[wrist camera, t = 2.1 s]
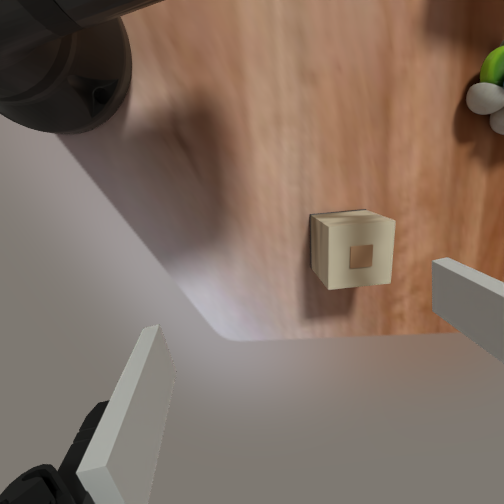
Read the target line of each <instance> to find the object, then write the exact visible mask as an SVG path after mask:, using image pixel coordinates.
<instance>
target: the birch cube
mask: <svg viewBox="0 0 504 504" xmlns="http://www.w3.org/2000/svg"><path fill="white" fill-rule="evenodd" d="M394 234H395V220H392V219H390V218H387V217H384V216H382V215H379V214H376V213H374V212H371V211H368V210H366V209H363V210H352V211H341V212H330V213H319V214H310V263H311V269H312V270H313V271H314V272H315V274H316V275H317V276H318V277H319V279H320V280H321V281H322V283H323V284H324V285H325V286H326V288H327V289H328V290H333V289H342V288H351V287H360V286H370V285H379V284H388V283H391V272H392V259H393V247H394Z"/></svg>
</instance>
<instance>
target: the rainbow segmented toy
mask: <svg viewBox="0 0 504 504" xmlns="http://www.w3.org/2000/svg"><path fill="white" fill-rule="evenodd" d="M480 82H481V83H477V84H475V85H473V86H471V87H470V89H469V91H468V93H467V97H466V102H467V106H468V107H469V109H470V110H471V111H472V112H474V113H477V114H482V115H485V114H491V116H490V125H491V128H492V129H493V130H494V131H495V132H497V133H499V134H502V135H504V40H503V41H502V43H501V44H500V47H499V48H497V49H495V50H493V51H492V52H491V53H490V54H489V55H488V56H487V57H486V59H485V61H484V62H483V65H482V67H481V71H480Z"/></svg>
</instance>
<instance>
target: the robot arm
mask: <svg viewBox="0 0 504 504" xmlns="http://www.w3.org/2000/svg"><path fill="white" fill-rule="evenodd" d="M161 1H164V0H0V114H2V115H3V116H5V117H6V118H8V119H10V120H12V121H14V122H16V123H18V124H20V125H23V126H25V127H28V128H31V129H34V130H38V131H43V132H49V133H56V134H76V133H82V132H86V131H89V130H91V129H94V128H96V127H98V126H99V125H101V124H103V123H104V122H106V121H107V120H108V119H109V118H110V117H111V116H112V115H113V114H114V113H115V112H116V111H117V109H118V108H119V107H120V105H121V103H122V102H123V100H124V98H125V95H126V93H127V90H128V87H129V83H130V78H131V68H132V59H131V49H130V44H129V39H128V35H127V32H126V29H125V26H124V24H123V21H122V19H121V17H120V16H123V15H125V14H128V13H131V12H134V11H136V10H139V9H142V8H145V7H147V6H150V5H153V4H156V3H158V2H161ZM432 309H433V312H434V313H436V314H437V315H438V316H440V317H441V318H443V319H444V320H445V321H447V322H448V323H449V324H451V325H452V326H453V327H455V328H456V329H457V330H459V331H460V332H461V333H463V334H464V335H466V336H467V337H468V338H470V339H471V340H472V341H474V342H475V343H476V344H478V345H479V346H480V347H482V348H483V349H484V350H486V351H487V352H488V353H490V354H491V355H493V356H494V357H495V358H497V359H498V360H499V361H501V362H502V363H503V364H504V283H503V282H501V281H499V280H497V279H495V278H492V277H490V276H488V275H486V274H483V273H481V272H479V271H477V270H475V269H472V268H470V267H468V266H466V265H464V264H461V263H459V262H457V261H455V260H452V259H450V258H448V257H446V258H442V259H438V260H433V261H432ZM176 372H177V371H176V369H175V366H174V363H173V360H172V357H171V355H170V352H169V349H168V346H167V344H166V341H165V338H164V335H163V332H162V330H161V327H160V325H155V326H150V327H146V328H143V330H142V332H141V334H140V336H139V339H138V341H137V343H136V345H135V347H134V350H133V351H132V354H131V356H130V358H129V360H128V362H127V365H126V367H125V369H124V371H123V373H122V375H121V377H120V379H119V382H118V384H117V386H116V388H115V390H114V392H113V395H112V397H111V399H110V400H109V401H105V402H100V403H98V404H97V405H96V406H95V407H94V408H93V410H92V411H91V412H90V413H89V414H88V415H87V416H86V418H85V420H84V422H83V424H82V426H81V427H80V429H79V433H77V435H76V437H75V439H74V441H73V444H72V445H71V447H70V448H69V450H68V452H67V454H66V456H65V458H64V460H63V462H62V464H61V466H60V467H59V469H58V471H57V470H56V469H55V468H54V467H53V466H52V465H50V464H49V465H48V464H42V465H40V466H36V467H33V468H31V469H30V470H28V471H27V472H25V473H23V474H21V475H20V476H19V477H18V478H16V479H15V480H14V481H13V482H12V483H11V484H9V486H8V487H7V488H6V489H5V490H4V491H3V492H2V494H1V495H0V504H148V501H149V496H150V492H151V487H152V483H153V478H154V473H155V469H156V464H157V460H158V455H159V450H160V446H161V441H162V437H163V432H164V427H165V423H166V418H167V414H168V409H169V405H170V400H171V395H172V390H173V386H174V381H175V377H176Z"/></svg>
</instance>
